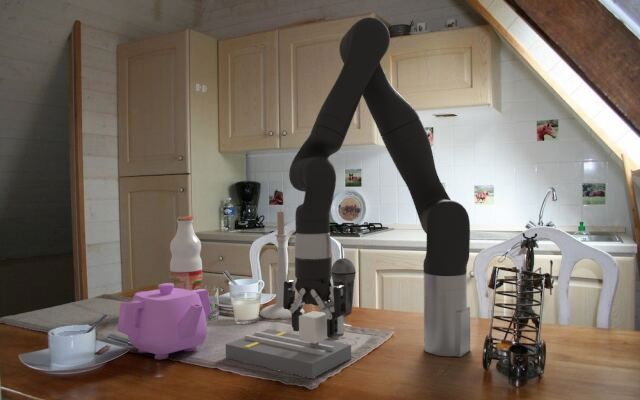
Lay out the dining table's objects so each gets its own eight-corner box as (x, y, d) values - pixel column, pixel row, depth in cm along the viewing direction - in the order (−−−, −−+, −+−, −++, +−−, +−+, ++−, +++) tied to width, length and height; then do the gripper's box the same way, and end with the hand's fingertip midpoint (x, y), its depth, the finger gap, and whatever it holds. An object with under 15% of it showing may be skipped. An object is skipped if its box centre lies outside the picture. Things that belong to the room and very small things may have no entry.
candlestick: (313, 311, 154) (311, 209, 153) (287, 321, 143) (285, 211, 142) (277, 306, 161) (276, 208, 160) (250, 316, 150) (248, 210, 149)
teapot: (202, 362, 111) (201, 290, 111) (113, 365, 110) (112, 293, 109) (213, 336, 130) (212, 275, 130) (137, 339, 129) (136, 277, 128)
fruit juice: (172, 306, 163) (169, 216, 162) (203, 305, 165) (201, 215, 164) (169, 314, 154) (167, 217, 153) (202, 312, 156) (200, 217, 155)
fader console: (351, 358, 112) (351, 341, 112) (312, 379, 100) (312, 359, 100) (268, 341, 125) (268, 325, 125) (225, 358, 113) (225, 340, 113)
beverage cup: (360, 310, 155) (359, 242, 154) (351, 316, 148) (350, 245, 148) (337, 308, 158) (336, 241, 157) (327, 313, 151) (326, 244, 151)
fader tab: (329, 347, 109) (328, 313, 109) (315, 353, 105) (314, 318, 105) (313, 343, 112) (313, 311, 111) (299, 350, 108) (298, 316, 107)
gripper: (352, 255, 107) (353, 334, 107) (296, 250, 115) (297, 324, 116) (331, 259, 101) (332, 343, 101) (274, 254, 109) (275, 332, 109)
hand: (314, 333), depth 108 cm, fingers open, 8 cm apart
